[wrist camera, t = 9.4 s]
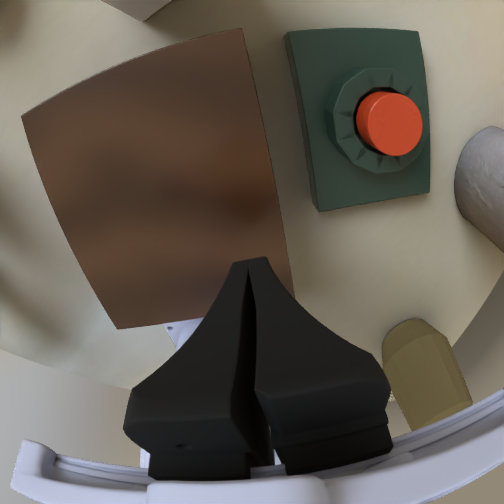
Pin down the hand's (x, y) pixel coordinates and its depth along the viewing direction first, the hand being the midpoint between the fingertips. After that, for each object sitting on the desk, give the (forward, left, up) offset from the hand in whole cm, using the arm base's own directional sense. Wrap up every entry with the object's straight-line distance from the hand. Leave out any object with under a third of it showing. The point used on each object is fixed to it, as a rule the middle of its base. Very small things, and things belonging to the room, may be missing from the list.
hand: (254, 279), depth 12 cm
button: (+4, -9, -7) cm, 12 cm away
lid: (+2, +4, -4) cm, 6 cm away
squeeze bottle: (-20, -14, -11) cm, 27 cm away
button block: (+4, -9, -10) cm, 14 cm away
